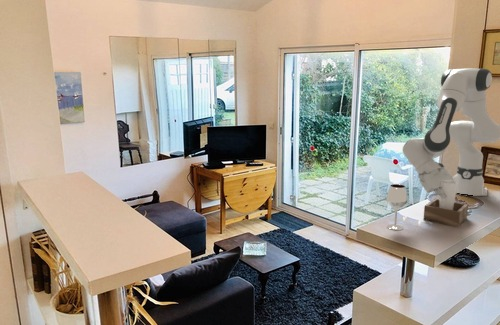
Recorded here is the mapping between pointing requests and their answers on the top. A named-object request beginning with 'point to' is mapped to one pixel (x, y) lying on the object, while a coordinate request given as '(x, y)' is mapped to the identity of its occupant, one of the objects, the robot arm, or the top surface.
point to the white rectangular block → (448, 194)
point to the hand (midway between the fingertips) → (448, 196)
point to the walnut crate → (445, 213)
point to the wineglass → (396, 201)
